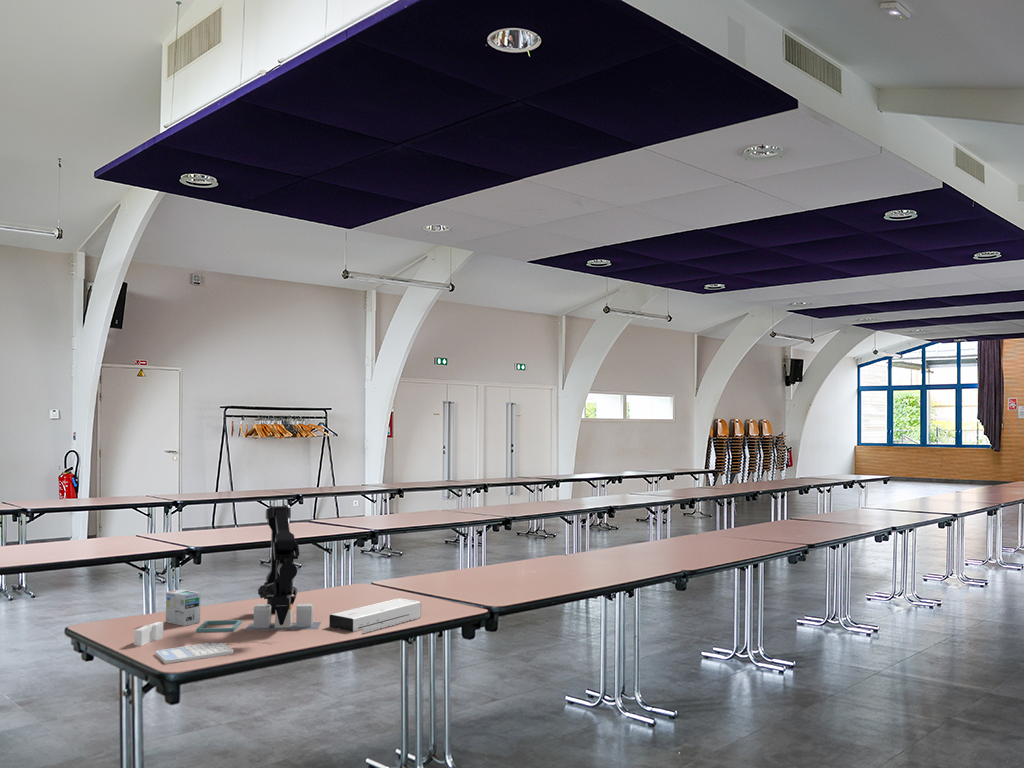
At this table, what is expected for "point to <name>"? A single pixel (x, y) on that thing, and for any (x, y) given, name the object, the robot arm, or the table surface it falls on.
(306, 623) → the block
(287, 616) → the block
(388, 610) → the laminator
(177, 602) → the light bulb box
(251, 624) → the board
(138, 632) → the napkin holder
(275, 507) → the robot arm
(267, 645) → the table surface
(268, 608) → the block
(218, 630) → the teal tray
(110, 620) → the table surface
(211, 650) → the calculator
